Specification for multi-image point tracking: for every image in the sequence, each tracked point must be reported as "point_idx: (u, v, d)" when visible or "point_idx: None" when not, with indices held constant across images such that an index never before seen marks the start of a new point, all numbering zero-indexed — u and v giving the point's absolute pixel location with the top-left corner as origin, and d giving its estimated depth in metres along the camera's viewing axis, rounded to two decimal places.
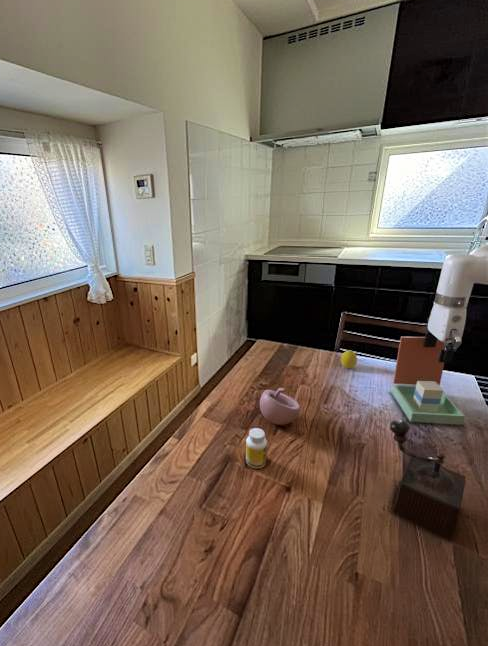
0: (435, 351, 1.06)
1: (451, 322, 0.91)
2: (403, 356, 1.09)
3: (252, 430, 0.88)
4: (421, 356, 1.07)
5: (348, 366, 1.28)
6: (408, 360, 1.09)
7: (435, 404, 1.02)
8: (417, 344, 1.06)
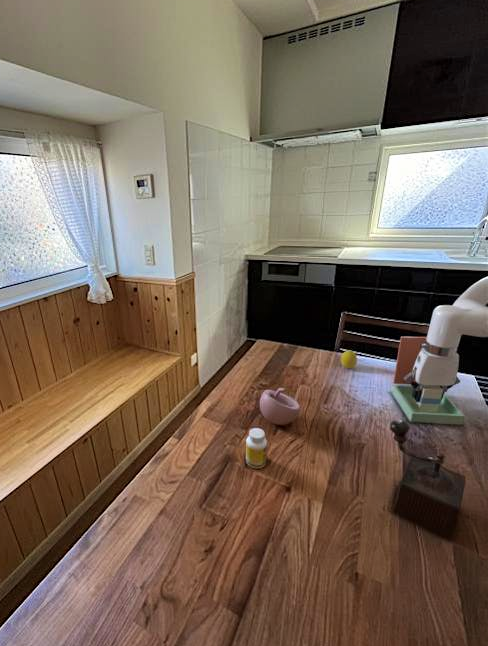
0: None
1: (416, 360, 1.01)
2: (403, 356, 1.09)
3: (252, 430, 0.88)
4: None
5: (348, 366, 1.28)
6: (408, 360, 1.09)
7: (435, 404, 1.02)
8: (417, 344, 1.06)
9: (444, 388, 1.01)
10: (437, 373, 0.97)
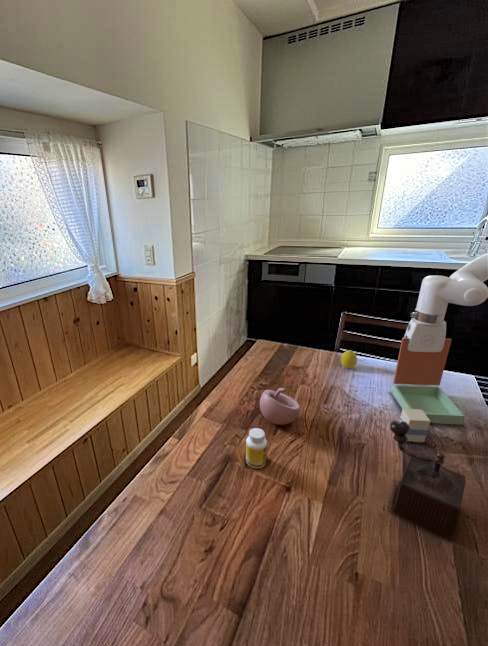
0: (436, 352, 1.05)
1: (407, 329, 1.07)
2: (404, 357, 1.08)
3: (252, 430, 0.88)
4: (422, 357, 1.07)
5: (348, 366, 1.28)
6: (409, 361, 1.08)
7: (421, 435, 0.91)
8: None
9: None
10: (426, 340, 1.04)
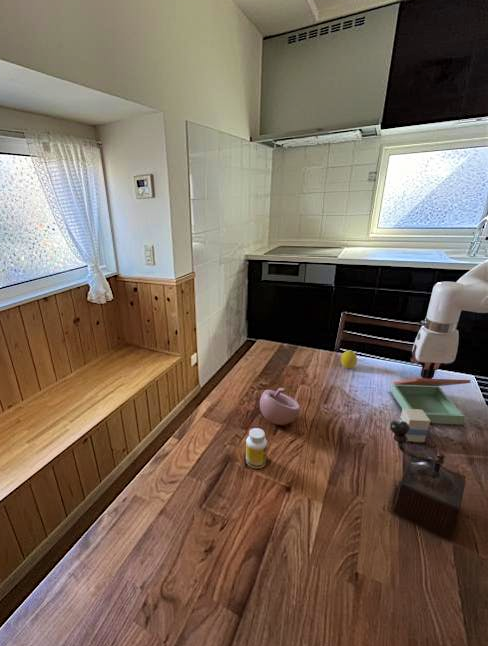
0: (448, 383, 0.99)
1: (416, 338, 1.01)
2: (411, 382, 1.02)
3: (252, 430, 0.88)
4: (431, 383, 1.01)
5: (348, 366, 1.28)
6: (415, 383, 1.03)
7: (421, 435, 0.91)
8: (431, 382, 0.98)
9: (436, 366, 1.01)
10: (437, 350, 0.98)
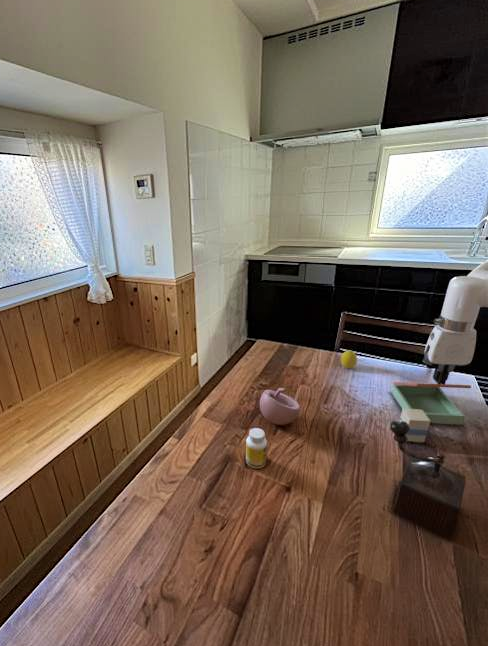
0: None
1: (429, 337, 0.93)
2: None
3: (252, 430, 0.88)
4: None
5: (348, 366, 1.28)
6: None
7: (421, 435, 0.91)
8: None
9: (450, 368, 0.94)
10: (452, 351, 0.90)
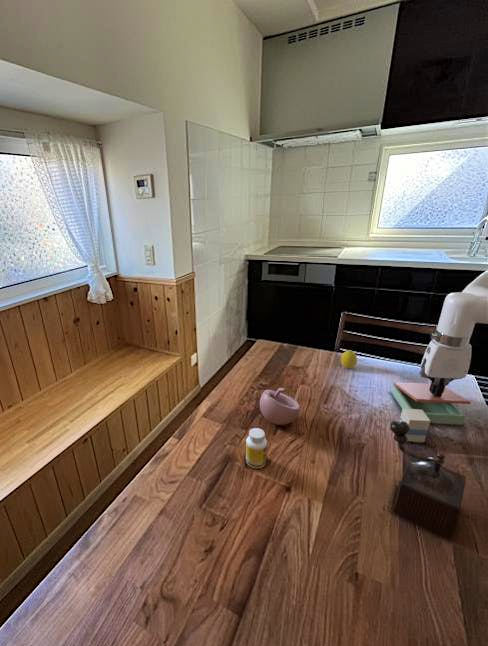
0: None
1: (426, 351, 0.95)
2: None
3: (252, 430, 0.88)
4: None
5: (348, 366, 1.28)
6: None
7: (421, 435, 0.91)
8: None
9: (446, 381, 0.95)
10: (448, 365, 0.92)
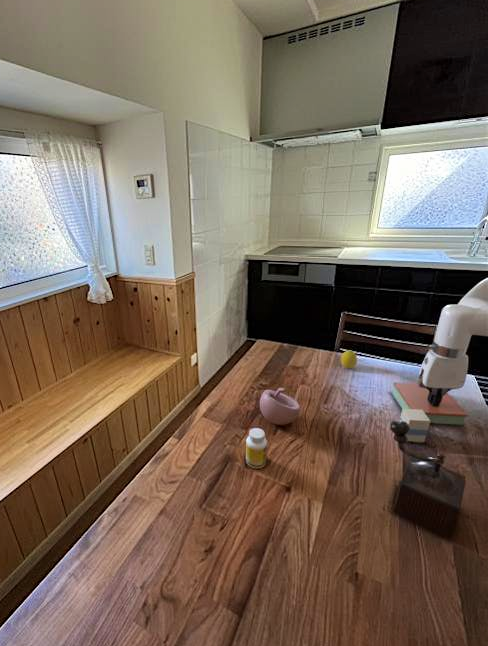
0: None
1: (423, 362, 0.97)
2: None
3: (252, 430, 0.88)
4: None
5: (348, 366, 1.28)
6: None
7: (421, 435, 0.91)
8: None
9: (444, 391, 0.97)
10: (445, 375, 0.93)
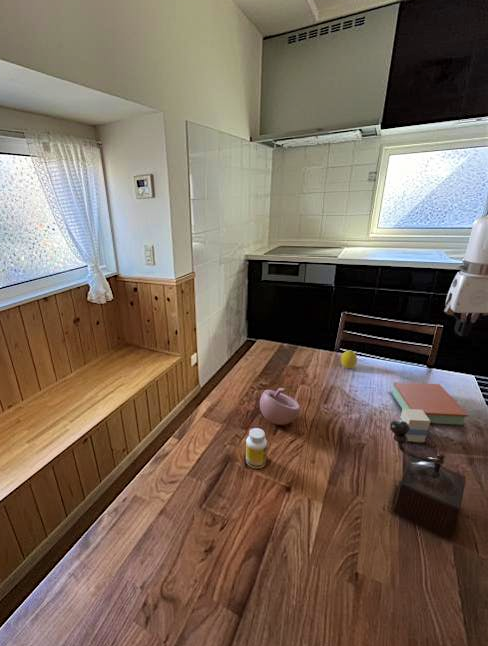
0: None
1: (451, 285, 0.89)
2: None
3: (252, 430, 0.88)
4: None
5: (348, 366, 1.28)
6: None
7: (421, 435, 0.91)
8: None
9: (474, 317, 0.89)
10: (477, 297, 0.85)
